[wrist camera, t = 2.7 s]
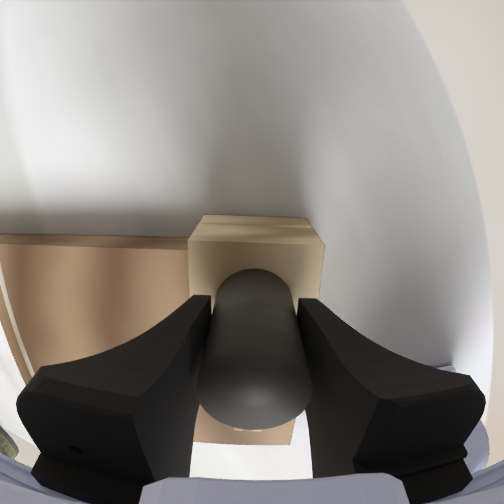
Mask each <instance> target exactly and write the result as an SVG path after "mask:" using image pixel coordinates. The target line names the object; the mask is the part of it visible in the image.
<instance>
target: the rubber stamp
mask: <svg viewBox="0 0 504 504" xmlns="http://www.w3.org/2000/svg"><path fill="white" fill-rule="evenodd" d="M324 247H325V245H324V243H323V242H322V240H321V239H320V237H319V236H318V234H317V233H316V231H315V230H314V228H313V227H312V226H311V224H310V223H309V221H308V220H307V218H286V217H261V216H230V215H204V216H203V217H202V219H201V220H200V222H199V223H198V225H197V226H196V228H195V230H194V231H193V233H192V234H191V236H190V237H189V239H188V269H189V291H190V297H191V296H193V295H194V294H195V295H211V309H212V316H211V320H210V325H209V330H208V334H207V339H206V343H205V348H204V352H203V357H202V362H201V366H200V371H199V376H198V381H197V386H196V393H197V398H198V400H199V403H200V404H201V406H202V408H203V409H204V410H205V411H206V412H207V413H208V414H209V415H210V416H211V417H213V418H214V419H216V420H217V421H219V422H221V423H223V424H225V425H228V426H231V427H234V431H247V432H249V431H261V429H269V428H274V427H277V426H280V425H283V424H285V423H287V422H289V421H291V420H293V419H294V418H296V417H297V416H298V415H300V414H301V413H302V412H303V411H304V410H305V408H306V407H307V405H308V404H309V402H310V400H311V397H312V391H313V388H312V381H311V376H310V372H309V367H308V363H307V359H306V354H305V350H304V345H303V341H302V337H301V332H300V328H299V324H298V320H297V308H298V299H299V298H316V299H317V300H318V296H319V289H320V281H321V273H322V265H323V256H324Z"/></svg>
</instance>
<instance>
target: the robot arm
mask: <svg viewBox="0 0 504 504" xmlns="http://www.w3.org/2000/svg"><path fill="white" fill-rule="evenodd" d="M211 316H212V309H211V295H195V294H194V295H193V296H191V297H190V298H189V299H188V300H187V301H186V302H184V303H183V304H182V305H181V306H180V307H178V308H177V309H176V310H175V311H174V312H172V313H171V314H170V315H169V316H167V317H166V318H165V319H163V320H162V321H160V322H159V323H158V324H156V325H155V326H153V327H152V328H150V329H149V330H147V331H146V332H144V333H142V334H141V335H139V336H137V337H135V338H133V339H131V340H130V341H128V342H126V343H123V344H121V345H119V346H116V347H114V348H111V349H109V350H107V351H104V352H101V353H98V354H95V355H92V356H89V357H86V358H82V359H78V360H74V361H70V362H64V363H59V364H53V365H47V366H41V367H40V368H39V369H38V371H37V372H36V373H35V375H34V376H33V377H32V378H31V380H30V381H29V382H28V384H27V385H26V386H25V388H24V389H23V390H22V392H21V393H20V395H19V396H18V398H17V402H16V406H17V412H18V415H19V417H20V419H21V421H22V423H23V425H24V427H25V428H26V430H27V432H28V433H29V435H30V436H31V438H32V439H33V441H34V443H35V444H36V446H37V447H38V449H39V450H40V452H41V453H40V455H39V457H38V459H37V461H36V463H35V465H34V467H33V468H31V467H29V466H26V465H24V464H22V463H20V462H18V461H16V460H14V459H11V458H9V457H7V456H5V455H3V454H1V453H0V504H504V460H502V461H500V462H498V463H496V464H494V465H492V466H489V467H487V468H485V467H486V464H487V462H488V458H489V439H488V435H487V432H486V429H485V427H484V425H483V423H482V422H481V420H480V419H481V417H482V415H483V412H484V408H485V404H486V401H485V396H484V394H483V393H482V391H481V390H480V389H479V387H478V386H477V385H476V383H475V382H474V381H473V379H472V378H471V376H470V375H465V374H460V373H455V371H456V369H455V368H454V366H445V367H438V368H433V367H430V366H427V365H423V364H420V363H418V362H415V361H412V360H409V359H407V358H405V357H402V356H400V355H398V354H395V353H393V352H391V351H389V350H387V349H385V348H383V347H382V346H380V345H378V344H376V343H374V342H373V341H371V340H369V339H368V338H366V337H365V336H363V335H362V334H360V333H359V332H357V331H356V330H355V329H353V328H352V327H350V326H349V325H348V324H347V323H345V322H344V321H343V320H341V319H340V318H339V317H338V316H337V315H335V314H334V313H333V312H332V311H331V310H330V309H328V308H327V307H326V306H325V305H324V304H322V303H321V302H320V301H319V300H317V299H316V298H299V299H298V308H297V320H298V324H299V328H300V332H301V337H302V341H303V345H304V350H305V354H306V359H307V363H308V367H309V372H310V376H311V381H312V388H313V391H312V397H311V400H310V402H309V404H308V405H307V407H306V408H305V411H306V416H307V421H308V427H309V437H310V446H311V458H312V471H313V479H298V480H228V479H212V478H201V477H194V478H189V474H190V464H191V455H192V446H193V438H194V430H195V423H196V418H197V413H198V409H199V405H200V403H199V400H198V398H197V393H196V386H197V381H198V376H199V371H200V366H201V362H202V357H203V352H204V348H205V343H206V339H207V334H208V330H209V325H210V320H211Z"/></svg>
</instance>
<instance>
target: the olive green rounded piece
mask: <svg viewBox="0 0 504 504" xmlns="http://www.w3.org/2000/svg"><path fill="white" fill-rule="evenodd" d="M18 452H19V450H18V447H17V445H16V444H15V442H14V441H13V440H12V438H11V437H10V436H9V435H8V434H7V432H6V431H4V429H3V428H2V427H1V426H0V453H1V454H3V455H5V456H7V457H9V458H11V459H14V458H15V457H16V455H17V454H18Z"/></svg>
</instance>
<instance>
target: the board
mask: <svg viewBox="0 0 504 504" xmlns="http://www.w3.org/2000/svg"><path fill="white" fill-rule="evenodd" d="M188 239H189V238H188V237H150V236H105V235H45V234H0V321H1V324H2V327H3V330H4V332H5V335H6V338H7V341H8V344H9V346H10V349H11V351H12V354H13V356H14V359H15V361H16V364H17V366H18V369H19V371H20V373H21V375H22V378H23V380H24V382H25V384H26V385H27V384H28V382H29V381H30V380H31V378H32V377H33V376H34V375H35V373H36V372H37V371H38V369H39V368H40V367H41V366H47V365H53V364H59V363H64V362H70V361H74V360H78V359H82V358H86V357H89V356H92V355H95V354H98V353H101V352H104V351H107V350H109V349H111V348H114V347H116V346H119V345H121V344H123V343H126V342H128V341H130V340H131V339H133V338H135V337H137V336H139V335H141V334H142V333H144V332H146V331H147V330H149V329H150V328H152V327H153V326H155V325H156V324H158V323H159V322H160V321H162V320H163V319H165V318H166V317H167V316H169V315H170V314H171V313H172V312H174V311H175V310H176V309H177V308H178V307H180V306H181V305H182V304H183V303H184V302H186V301H187V300H188V299H189V298H190V291H189V269H188ZM294 423H295V418H294V419H293V420H291V421H289V422H287V423H285V424H283V425H280V426H277V427H274V428H269V429H261V431H249V432H247V431H234V427H231V426H228V425H225V424H223V423H221V422H219V421H217V420H216V419H214V418H213V417H211V416H210V415H209V414H208V413H207V412H206V411H205V410H204V409H203V408H202V406H201V404H200V405H199V409H198V413H197V418H196V423H195V430H194V438H193V442H204V443H218V444H237V445H290V443H291V438H292V433H293V428H294Z"/></svg>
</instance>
